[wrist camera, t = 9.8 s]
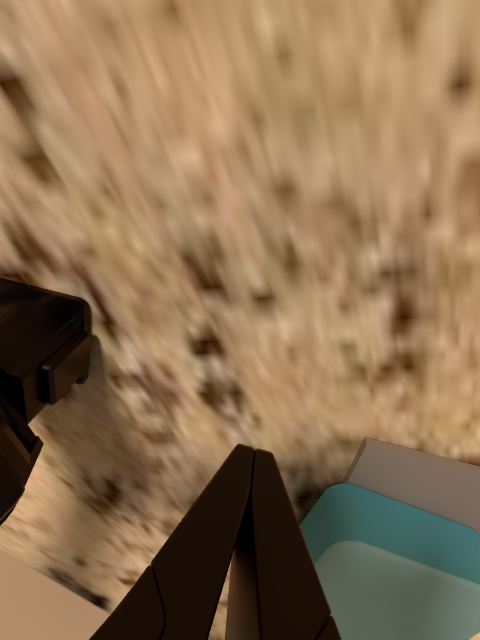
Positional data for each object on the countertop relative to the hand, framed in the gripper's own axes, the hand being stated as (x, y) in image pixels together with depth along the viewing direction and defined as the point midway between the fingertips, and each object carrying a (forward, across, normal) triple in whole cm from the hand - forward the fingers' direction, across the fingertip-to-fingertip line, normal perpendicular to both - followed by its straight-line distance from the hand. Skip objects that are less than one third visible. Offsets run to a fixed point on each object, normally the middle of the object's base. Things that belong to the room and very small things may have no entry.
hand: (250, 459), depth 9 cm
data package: (+10, -6, +19) cm, 23 cm away
